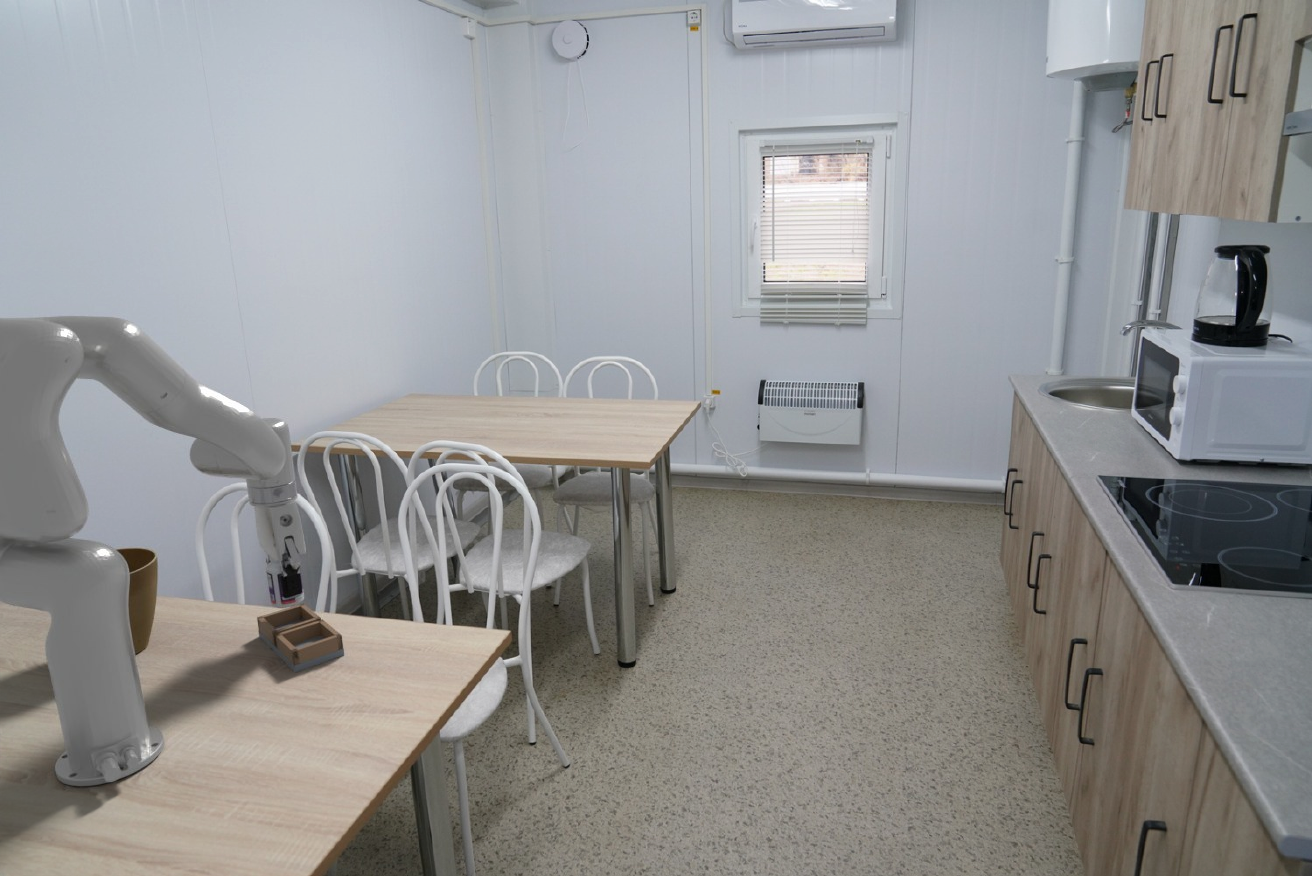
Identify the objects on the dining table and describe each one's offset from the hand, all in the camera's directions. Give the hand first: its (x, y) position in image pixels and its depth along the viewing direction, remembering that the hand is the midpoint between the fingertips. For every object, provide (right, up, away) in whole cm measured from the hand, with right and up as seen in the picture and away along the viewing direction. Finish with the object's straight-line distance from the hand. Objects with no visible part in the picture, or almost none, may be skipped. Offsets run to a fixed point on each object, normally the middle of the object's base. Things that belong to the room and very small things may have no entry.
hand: (286, 588), depth 147 cm
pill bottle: (0, -3, +1) cm, 3 cm away
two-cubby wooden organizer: (+3, -10, -1) cm, 10 cm away
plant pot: (-27, -10, -2) cm, 29 cm away
